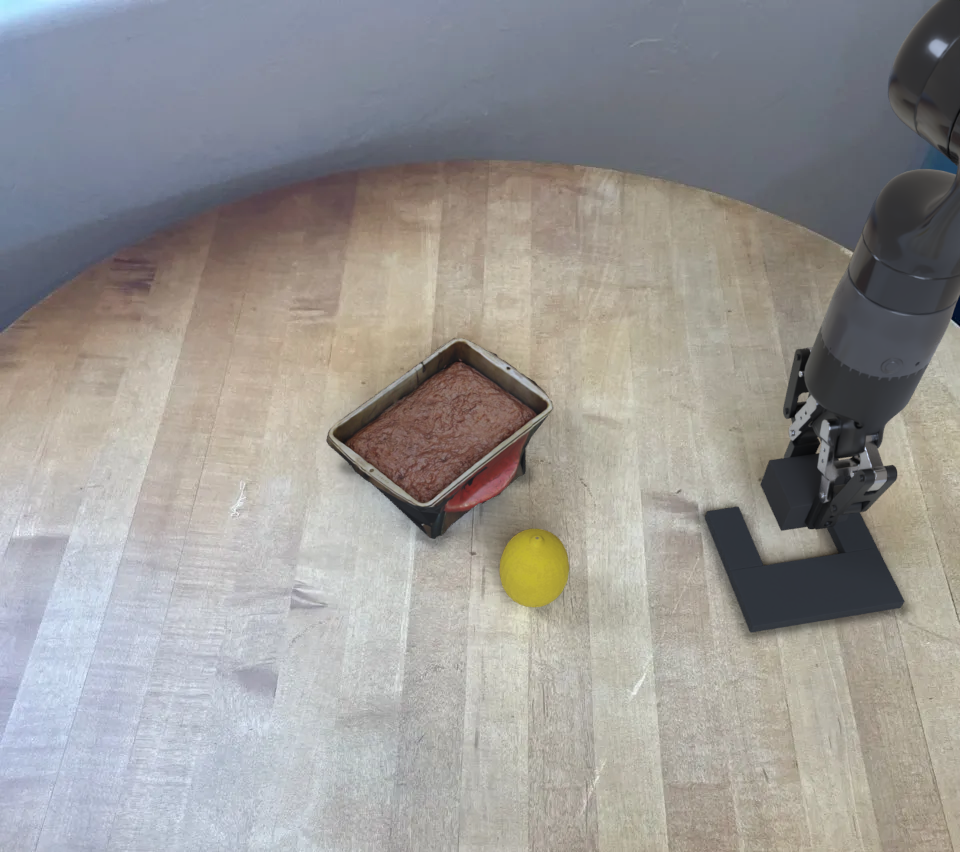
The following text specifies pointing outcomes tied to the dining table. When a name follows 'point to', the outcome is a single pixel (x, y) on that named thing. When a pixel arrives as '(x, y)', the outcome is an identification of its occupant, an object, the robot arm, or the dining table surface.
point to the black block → (793, 489)
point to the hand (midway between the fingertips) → (805, 497)
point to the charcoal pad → (804, 576)
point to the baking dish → (444, 434)
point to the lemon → (534, 568)
